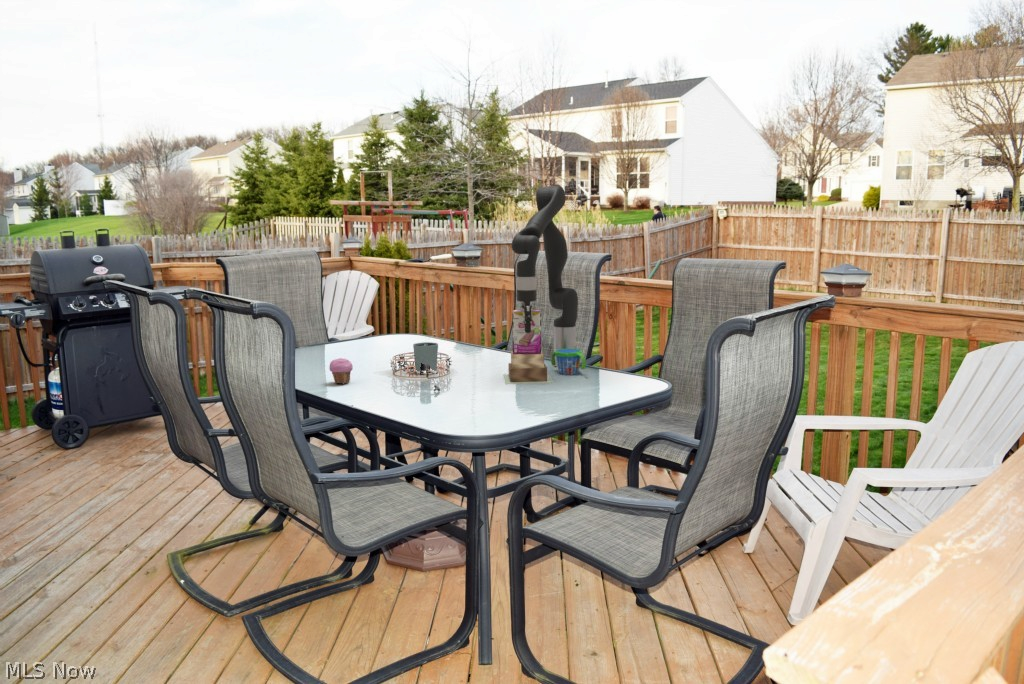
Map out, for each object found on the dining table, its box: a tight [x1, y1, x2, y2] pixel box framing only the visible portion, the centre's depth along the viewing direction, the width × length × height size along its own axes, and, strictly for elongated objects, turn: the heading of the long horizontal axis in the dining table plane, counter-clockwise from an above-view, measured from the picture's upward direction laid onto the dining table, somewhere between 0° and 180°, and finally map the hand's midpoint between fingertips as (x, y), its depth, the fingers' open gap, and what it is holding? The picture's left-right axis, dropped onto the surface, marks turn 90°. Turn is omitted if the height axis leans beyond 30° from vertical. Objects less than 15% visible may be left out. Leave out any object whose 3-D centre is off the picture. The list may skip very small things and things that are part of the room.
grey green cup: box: [412, 341, 439, 371], centre depth 322 cm, size 10×10×12 cm
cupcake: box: [329, 357, 354, 384], centre depth 303 cm, size 9×9×10 cm
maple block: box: [510, 350, 545, 369], centre depth 301 cm, size 12×10×5 cm
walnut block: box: [508, 362, 548, 382], centre depth 301 cm, size 14×12×5 cm
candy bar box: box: [512, 309, 543, 354], centre depth 299 cm, size 11×5×16 cm, turn 87°
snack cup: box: [550, 348, 587, 376], centre depth 311 cm, size 16×10×10 cm
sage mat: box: [502, 372, 554, 385], centre depth 302 cm, size 18×18×1 cm
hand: (527, 331), depth 299 cm, fingers open, 8 cm apart
